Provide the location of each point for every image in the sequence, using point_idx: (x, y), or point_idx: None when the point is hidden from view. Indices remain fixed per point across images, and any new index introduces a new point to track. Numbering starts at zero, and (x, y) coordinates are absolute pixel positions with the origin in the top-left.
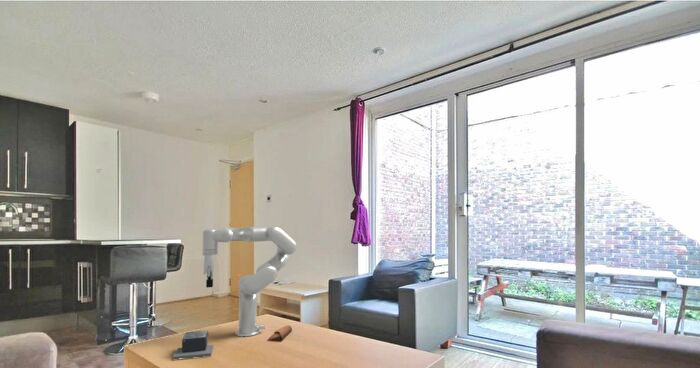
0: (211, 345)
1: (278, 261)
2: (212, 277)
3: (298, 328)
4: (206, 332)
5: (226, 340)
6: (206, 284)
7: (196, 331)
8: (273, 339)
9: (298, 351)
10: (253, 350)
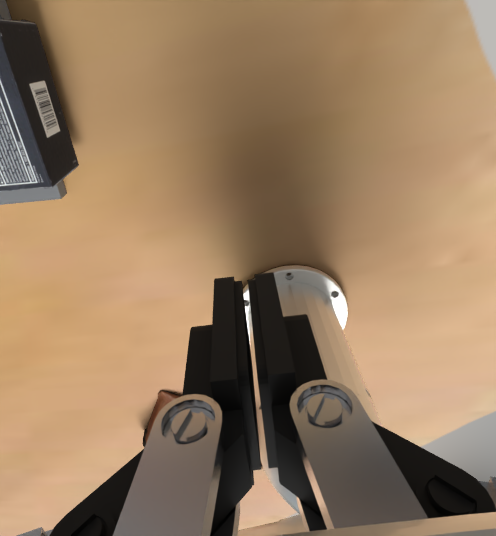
0: (50, 190)
1: None
2: (302, 513)
3: None
4: (6, 185)
5: (191, 236)
6: (213, 310)
7: (20, 108)
8: (154, 413)
9: (33, 474)
10: (37, 358)
